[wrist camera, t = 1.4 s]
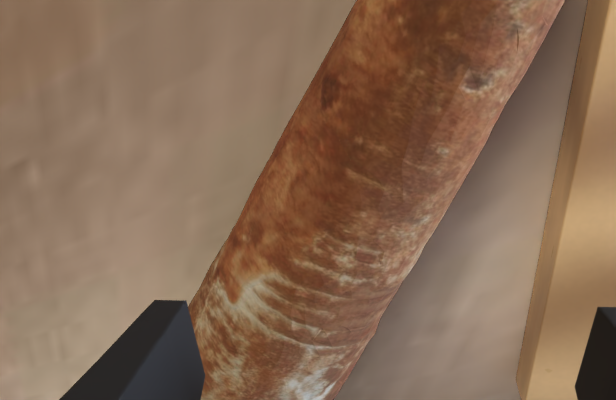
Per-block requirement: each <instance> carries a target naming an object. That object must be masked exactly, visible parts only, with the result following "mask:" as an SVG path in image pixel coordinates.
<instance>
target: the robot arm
mask: <svg viewBox="0 0 616 400" xmlns="http://www.w3.org/2000/svg"><path fill="white" fill-rule="evenodd" d="M204 380H205V372H204V368H203V364H202V360H201V356H200V352H199V348H198V344H197V341H196V337H195V333H194V329H193V325H192V321H191V317H190V313H189V310H188V306H187V302H186V301H172V300H155V301H154V302H153V303H152V304H151V305H150V306H149V307H148V308H147V309H146V310H145V311H144V312H143V313H142V314H141V315H140V316H139V317H138V318H137V319H136V320H135V321H134V322H133V323H132V324H131V326H130V327H129V328H128V329H127V330H126V331H125V332H124V333H123V334H122V335H121V336H120V337H119V338H118V340H117V341H116V342H115V343H114V344H113V345H112V346H111V347H110V348H109V349H108V350H107V351H106V352H105V353H104V354H103V355H102V357H101V358H100V359H99V360H98V361H97V362H96V363H95V364H94V365H93V366H92V367H91V368H90V369H89V370H88V371H87V372H86V373H85V374H84V375H83V376H82V377H81V378H80V379H79V380H78V381H77V382H76V383H75V384H74V385H73V386H72V387H71V388H70V389H69V390H68V391H67V392H66V393H65V394H64V395H63V396H62V397H61V398H60V399H59V400H201V395H202V390H203V385H204ZM575 391H576V395H577V399H578V400H616V307H597V311H596V314H595V318H594V321H593V324H592V328H591V331H590V335H589V338H588V342H587V345H586V349H585V352H584V356H583V359H582V363H581V366H580V370H579V373H578V376H577V380H576V383H575Z"/></svg>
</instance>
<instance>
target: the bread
mask: <svg viewBox="0 0 616 400" xmlns="http://www.w3.org/2000/svg"><path fill="white" fill-rule="evenodd" d="M564 1H565V0H357V1H356V3H355V4H354V6H353V8H352V9H351V11H350V13H349V15H348V17H347V19H346V20H345V22H344V24H343V26H342V28H341V30H340V32H339V33H338V35H337V37H336V39H335V41H334V42H333V44H332V46H331V48H330V50H329V52H328V53H327V55H326V57H325V59H324V61H323V62H322V64H321V66H320V68H319V70H318V71H317V73H316V75H315V77H314V79H313V80H312V82H311V84H310V86H309V88H308V89H307V91H306V93H305V95H304V96H303V98H302V100H301V102H300V103H299V105H298V107H297V109H296V111H295V112H294V114H293V116H292V118H291V119H290V121H289V123H288V125H287V127H286V128H285V130H284V132H283V134H282V136H281V137H280V139H279V141H278V143H277V145H276V147H275V149H274V151H273V153H272V155H271V157H270V159H269V160H268V162H267V164H266V166H265V167H264V169H263V171H262V173H261V175H260V176H259V178H258V180H257V182H256V184H255V186H254V188H253V190H252V192H251V194H250V196H249V198H248V200H247V202H246V205H245V207H244V209H243V211H242V213H241V215H240V217H239V219H238V221H237V223H236V225H235V226H234V227H233V229H232V231H231V233H230V235H229V237H228V239H227V240H226V242H225V243H224V244H223V246H222V248H221V250H220V251H219V253H218V255H217V256H216V258H215V260H214V261H213V263H212V264H211V266H210V268H209V270H208V272H207V274H206V276H205V278H204V280H203V282H202V284H201V286H200V288H199V290H198V291H197V293H196V295H195V296H194V298H193V300H192V301H191V303H190V305H189V307H188V310H189V313H190V317H191V321H192V325H193V329H194V333H195V337H196V341H197V344H198V348H199V352H200V356H201V360H202V364H203V368H204V372H205V380H204V385H203V390H202V395H201V400H333V399H334V398H335V397H336V395H337V394H338V393H339V391H340V389H341V387H342V385H343V384H344V382H345V381H346V379H347V378H348V376H349V374H350V373H351V371H352V369H353V368H354V366H355V365H356V363H357V361H358V359H359V358H360V356H361V354H362V352H363V351H364V349H365V347H366V345H367V344H368V342H369V341H370V339H371V338H372V337H373V336H374V334H375V332H376V329H377V326H378V324H379V321H380V319H381V316H382V315H383V313H384V312H385V310H386V308H387V307H388V305H389V303H390V302H391V300H392V299H393V297H394V295H395V294H396V292H397V290H398V289H399V287H400V285H401V284H402V282H403V280H404V278H405V277H406V276H407V275H408V274H409V272H410V271H411V269H412V268H413V266H414V265H415V264H416V262H417V261H418V259H419V257H420V255H421V253H422V251H423V248H424V247H425V245H426V243H427V242H428V240H429V239H430V237H431V236H432V234H433V232H434V231H435V229H436V227H437V226H438V224H439V222H440V221H441V219H442V218H443V216H444V214H445V213H446V211H447V209H448V207H449V206H450V204H451V202H452V200H453V199H454V197H455V195H456V194H457V192H458V190H459V188H460V187H461V185H462V183H463V182H464V180H465V178H466V176H467V175H468V173H469V171H470V170H471V168H472V166H473V164H474V163H475V161H476V159H477V157H478V156H479V154H480V152H481V150H482V149H483V147H484V145H485V143H486V142H487V140H488V138H489V135H490V133H491V131H492V128H493V127H494V125H495V123H496V122H497V120H498V118H499V116H500V114H501V112H502V110H503V108H504V106H505V104H506V103H507V101H508V100H509V98H510V97H511V95H512V94H513V92H514V91H515V89H516V88H517V86H518V84H519V83H520V81H521V80H522V78H523V77H524V75H525V73H526V71H527V70H528V68H529V66H530V64H531V62H532V60H533V58H534V57H535V55H536V53H537V51H538V49H539V48H540V46H541V44H542V42H543V41H544V39H545V37H546V35H547V33H548V31H549V29H550V27H551V26H552V24H553V22H554V20H555V18H556V16H557V14H558V12H559V10H560V9H561V7H562V5H563V3H564Z"/></svg>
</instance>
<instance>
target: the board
mask: <svg viewBox="0 0 616 400" xmlns="http://www.w3.org/2000/svg"><path fill="white" fill-rule="evenodd" d="M597 307H616V0H588V5H587V10H586V15H585V20H584V26H583V31H582V36H581V41H580V46H579V52H578V57H577V62H576V67H575V73H574V78H573V83H572V88H571V93H570V99H569V104H568V109H567V114H566V120H565V125H564V130H563V135H562V140H561V146H560V151H559V156H558V161H557V167H556V172H555V177H554V182H553V187H552V193H551V198H550V203H549V208H548V214H547V219H546V224H545V229H544V235H543V240H542V245H541V250H540V255H539V261H538V266H537V271H536V276H535V282H534V287H533V292H532V297H531V302H530V308H529V313H528V318H527V323H526V329H525V334H524V339H523V344H522V349H521V355H520V360H519V365H518V370H517V376H516V382H517V386H518V390H519V393H520V397H521V400H578V399H577V395H576V391H575V383H576V380H577V376H578V373H579V370H580V366H581V363H582V359H583V356H584V352H585V349H586V345H587V342H588V338H589V335H590V331H591V328H592V324H593V321H594V318H595V314H596V311H597Z"/></svg>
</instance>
